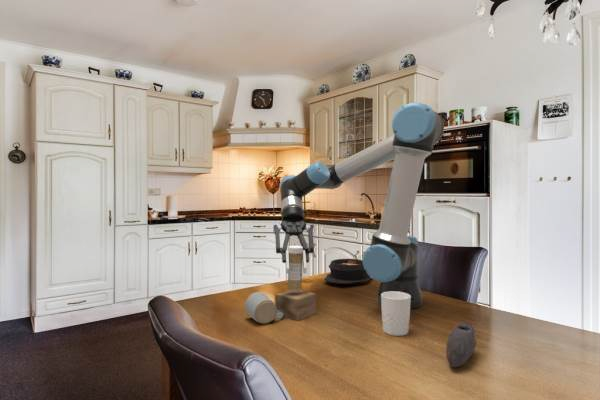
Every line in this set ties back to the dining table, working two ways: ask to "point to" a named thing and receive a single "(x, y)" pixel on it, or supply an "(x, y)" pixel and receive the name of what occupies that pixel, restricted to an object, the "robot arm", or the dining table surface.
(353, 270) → the black fedora hat
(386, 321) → the white cup
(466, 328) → the perforated stone tool
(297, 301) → the tan block
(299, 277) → the sprinkles bottle
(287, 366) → the dining table surface
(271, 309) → the ceramic mug
